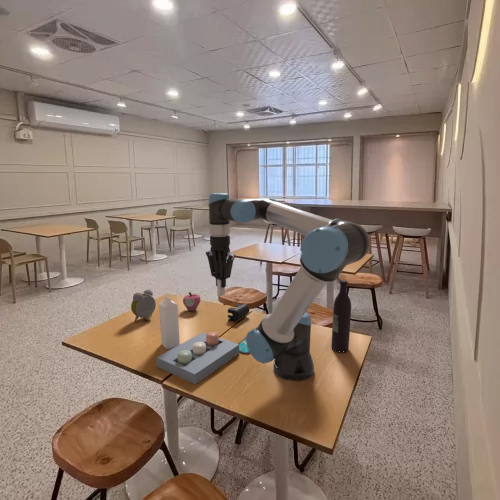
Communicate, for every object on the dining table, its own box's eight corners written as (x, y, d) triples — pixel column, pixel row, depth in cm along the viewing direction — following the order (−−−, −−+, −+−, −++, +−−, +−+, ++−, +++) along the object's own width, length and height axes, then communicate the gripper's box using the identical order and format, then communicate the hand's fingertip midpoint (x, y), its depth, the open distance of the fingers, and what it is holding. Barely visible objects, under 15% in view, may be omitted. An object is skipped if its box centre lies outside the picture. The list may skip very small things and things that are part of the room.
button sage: (194, 362, 128) (194, 352, 127) (184, 368, 124) (184, 358, 123) (184, 358, 131) (184, 348, 130) (174, 364, 127) (174, 354, 126)
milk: (166, 349, 142) (163, 300, 138) (161, 344, 147) (157, 296, 142) (180, 345, 146) (177, 297, 141) (174, 340, 151) (171, 293, 146)
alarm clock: (151, 314, 179) (149, 287, 176) (159, 317, 175) (157, 290, 172) (131, 321, 170) (129, 293, 167) (139, 325, 166) (137, 296, 163)
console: (239, 353, 139) (239, 344, 138) (195, 384, 118) (194, 374, 117) (203, 340, 150) (202, 332, 149) (157, 366, 129) (156, 357, 129)
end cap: (238, 324, 167) (238, 311, 166) (227, 320, 171) (227, 308, 170) (249, 317, 176) (249, 304, 174) (238, 314, 179) (238, 302, 178)
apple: (181, 312, 182) (180, 295, 179) (186, 306, 190) (185, 289, 188) (198, 313, 180) (197, 295, 178) (202, 307, 188) (202, 290, 186)
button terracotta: (221, 342, 141) (221, 333, 140) (213, 347, 136) (213, 338, 136) (212, 339, 143) (211, 330, 143) (203, 344, 139) (203, 335, 138)
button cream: (208, 353, 134) (208, 344, 134) (199, 359, 130) (199, 349, 129) (199, 349, 137) (198, 340, 136) (190, 355, 133) (189, 345, 132)
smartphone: (264, 338, 150) (248, 353, 138) (264, 340, 151) (248, 355, 138) (248, 334, 154) (230, 348, 142) (248, 336, 155) (230, 350, 142)
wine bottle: (335, 343, 147) (338, 277, 141) (350, 347, 143) (355, 280, 137) (328, 349, 142) (332, 281, 135) (345, 354, 138) (349, 284, 131)
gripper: (239, 235, 125) (240, 295, 130) (213, 232, 133) (214, 289, 138) (227, 238, 119) (228, 301, 124) (200, 234, 127) (202, 294, 132)
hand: (221, 294), depth 131 cm, fingers closed
